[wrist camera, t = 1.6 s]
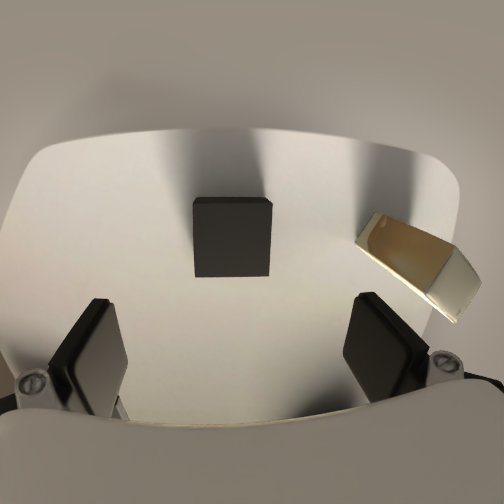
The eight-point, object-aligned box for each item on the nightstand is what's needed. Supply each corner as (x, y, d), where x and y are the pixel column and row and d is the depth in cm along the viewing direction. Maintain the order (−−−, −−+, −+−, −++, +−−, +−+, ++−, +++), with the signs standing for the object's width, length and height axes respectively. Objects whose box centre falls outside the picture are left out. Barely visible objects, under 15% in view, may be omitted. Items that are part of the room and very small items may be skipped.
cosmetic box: (408, 240, 28) (484, 283, 17) (387, 271, 29) (456, 326, 18) (373, 208, 26) (458, 244, 15) (350, 242, 27) (424, 296, 16)
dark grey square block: (197, 262, 26) (195, 277, 23) (195, 197, 24) (192, 203, 21) (262, 262, 27) (268, 276, 24) (265, 197, 25) (272, 203, 22)
